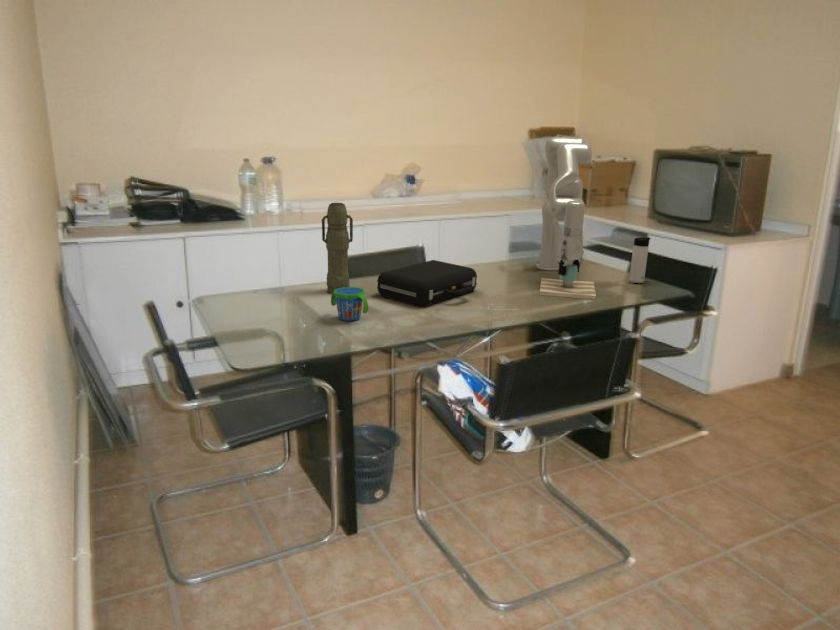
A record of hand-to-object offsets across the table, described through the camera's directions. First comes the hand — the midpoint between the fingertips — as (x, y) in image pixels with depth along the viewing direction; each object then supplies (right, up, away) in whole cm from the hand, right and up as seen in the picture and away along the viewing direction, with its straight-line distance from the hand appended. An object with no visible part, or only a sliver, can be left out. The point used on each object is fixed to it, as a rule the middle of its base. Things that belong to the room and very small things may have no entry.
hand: (568, 273), depth 270 cm
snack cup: (-86, -19, -41) cm, 97 cm away
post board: (0, -7, +2) cm, 7 cm away
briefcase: (-56, -10, -9) cm, 58 cm away
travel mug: (+34, -3, +17) cm, 38 cm away
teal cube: (0, -2, +1) cm, 3 cm away
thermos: (-94, -8, -8) cm, 95 cm away
